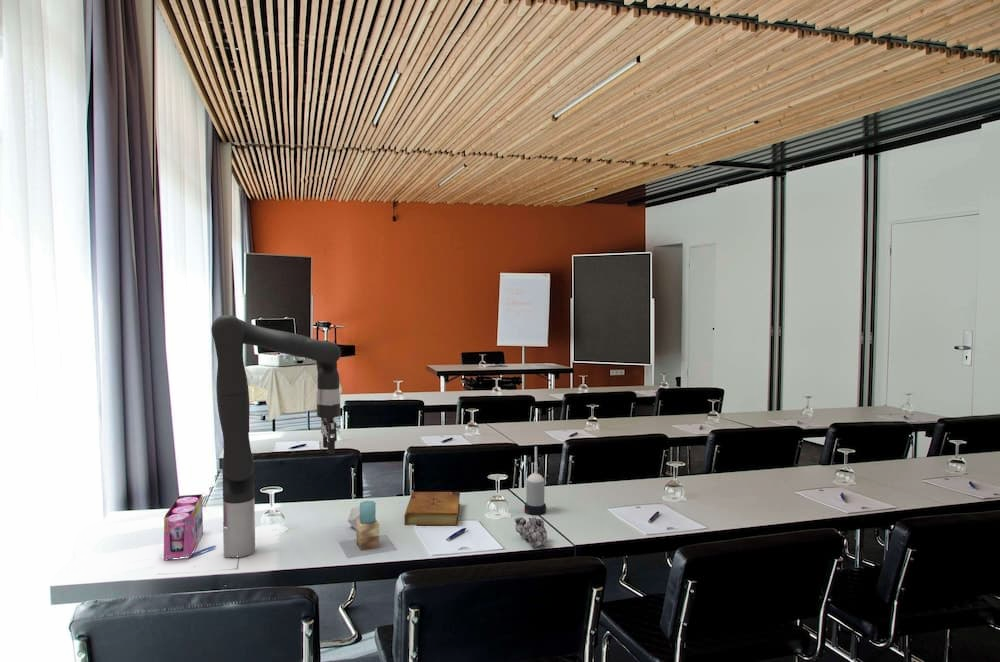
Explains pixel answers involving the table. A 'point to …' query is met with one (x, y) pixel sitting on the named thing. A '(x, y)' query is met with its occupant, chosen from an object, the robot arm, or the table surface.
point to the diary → (433, 509)
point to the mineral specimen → (532, 530)
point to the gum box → (183, 526)
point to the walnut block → (367, 542)
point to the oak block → (367, 529)
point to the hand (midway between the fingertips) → (328, 450)
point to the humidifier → (535, 492)
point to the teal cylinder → (367, 512)
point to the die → (354, 516)
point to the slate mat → (354, 551)
